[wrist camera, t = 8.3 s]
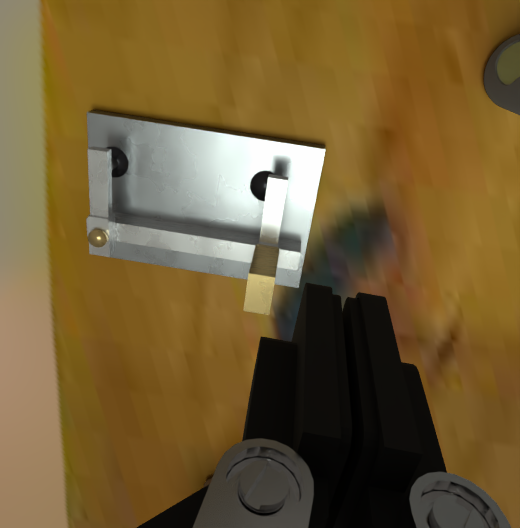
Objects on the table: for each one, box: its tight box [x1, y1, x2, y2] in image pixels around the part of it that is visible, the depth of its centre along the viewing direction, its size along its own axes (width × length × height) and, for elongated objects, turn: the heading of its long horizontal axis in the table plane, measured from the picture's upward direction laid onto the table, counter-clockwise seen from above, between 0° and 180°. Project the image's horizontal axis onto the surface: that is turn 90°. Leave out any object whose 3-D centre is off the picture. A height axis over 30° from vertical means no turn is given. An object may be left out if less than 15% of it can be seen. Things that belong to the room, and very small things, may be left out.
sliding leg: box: [244, 174, 289, 315], centre depth 34 cm, size 8×2×8 cm, turn 173°
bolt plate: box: [87, 110, 326, 288], centre depth 37 cm, size 12×18×5 cm, turn 83°
